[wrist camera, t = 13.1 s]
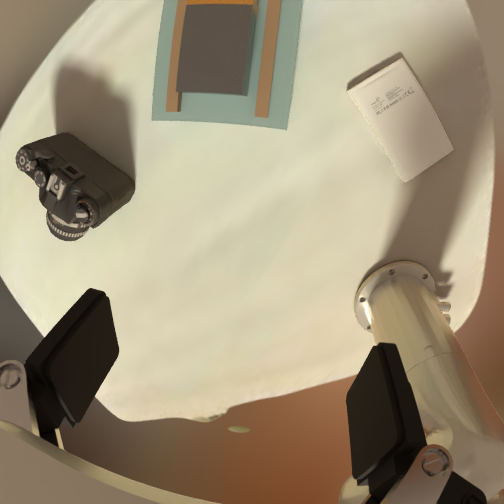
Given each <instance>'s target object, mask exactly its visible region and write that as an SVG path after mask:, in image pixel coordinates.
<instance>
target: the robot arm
mask: <svg viewBox="0 0 504 504" xmlns="http://www.w3.org/2000/svg"><path fill="white" fill-rule="evenodd" d="M450 308H451V304H450V303H449V302H439V300H438V299H437V297H436V296H435V283H434V280H433V278H432V276H431V274H430V273H429V272H428V270H427V269H426V268H425V267H423V266H422V265H420V264H418V263H415V262H410V261H399V262H394V263H390V264H388V265H386V266H383V267H381V268H380V269H378V270H376V271H375V272H374V273H372V274H371V275H370V276H369V277H368V278H367V279H366V280H365V281H364V282H363V283H362V285H361V287H360V288H359V290H358V292H357V295H356V297H355V302H354V311H355V315H356V318H357V320H358V323H359V324H360V325H361V327H362V328H364V329H365V330H366V331H368V332H370V333H372V334H373V336H374V339H375V342H376V345H377V346H373V347H372V349H371V351H370V353H369V355H368V357H367V359H366V360H365V362H364V364H363V366H362V368H361V370H360V372H359V373H358V375H357V377H356V379H355V380H354V382H353V384H352V386H351V387H350V389H349V391H348V393H347V397H346V404H347V413H348V424H349V435H350V446H351V459H352V476H351V477H350V478H348V480H347V481H346V482H345V483H344V485H343V487H342V489H341V492H340V497H339V504H504V489H503V488H504V423H503V422H502V420H501V418H500V417H499V415H498V414H497V412H496V410H495V409H494V407H493V406H492V404H491V402H490V400H489V399H488V397H487V396H486V394H485V392H484V390H483V388H482V386H481V384H480V382H479V380H478V378H477V377H476V375H475V373H474V371H473V369H472V367H471V365H470V363H469V361H468V359H467V357H466V355H465V353H464V351H463V349H462V348H461V346H460V344H459V342H458V340H457V338H456V336H455V335H454V333H453V331H452V329H451V327H450V326H449V324H450V315H449V314H442V312H441V311H449V310H450ZM118 355H119V346H118V341H117V337H116V332H115V327H114V322H113V317H112V311H111V305H110V300H109V298H108V297H107V296H106V293H105V292H103V291H100V290H96V289H93V288H89V289H88V290H87V291H86V292H85V293H84V294H83V295H82V296H81V297H80V298H79V299H78V301H77V302H76V303H75V304H74V305H73V306H72V307H71V308H70V309H69V310H68V312H67V313H66V314H65V315H64V316H63V317H62V318H61V319H60V320H59V322H58V323H57V324H56V325H55V326H54V327H53V328H52V330H51V331H50V332H49V333H48V334H47V335H46V337H45V338H44V339H43V340H42V341H41V343H40V344H39V345H38V346H37V347H36V349H35V350H34V351H33V352H32V354H31V355H30V356H29V357H28V359H27V360H26V363H25V365H24V366H23V365H22V364H21V363H20V362H18V361H15V360H8V361H5V362H2V363H1V364H0V504H220V503H214V502H209V501H205V500H200V499H196V498H191V497H187V496H183V495H179V494H175V493H172V492H168V491H165V490H161V489H158V488H155V487H152V486H148V485H145V484H142V483H139V482H137V481H134V480H131V479H128V478H125V477H123V476H120V475H118V474H115V473H113V472H110V471H108V470H105V469H103V468H101V467H98V466H96V465H94V464H91V463H89V462H87V461H85V460H82V459H81V458H79V457H76V456H75V455H73V454H70V453H68V452H66V451H64V449H63V445H62V441H61V437H60V432H59V426H60V424H61V423H64V424H66V425H68V426H70V427H72V428H73V427H74V425H75V423H79V422H80V421H81V420H82V418H83V416H84V414H85V412H86V411H87V409H88V407H89V405H90V403H91V402H92V400H93V398H94V397H95V395H96V393H97V391H98V390H99V388H100V386H101V384H102V383H103V381H104V379H105V378H106V376H107V374H108V372H109V371H110V369H111V367H112V366H113V364H114V362H115V361H116V359H117V357H118ZM425 433H426V437H425Z"/></svg>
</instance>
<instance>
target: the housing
mask: <svg viewBox="0 0 504 504" xmlns="http://www.w3.org/2000/svg"><path fill="white" fill-rule="evenodd" d="M257 14H258V2H257V0H187V4H186V10H185V16H184V23H183V30H182V38H181V45H180V54H179V62H178V72H177V82H176V92H182V93H198V94H220V95H234V96H246V97H247V96H248V87H249V78H250V70H251V62H252V53H253V45H254V37H255V29H256V22H257Z"/></svg>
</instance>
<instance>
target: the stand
mask: <svg viewBox="0 0 504 504" xmlns="http://www.w3.org/2000/svg"><path fill="white" fill-rule="evenodd" d="M257 2H258V14H257V22H256V29H255V37H254V45H253V53H252V62H251V70H250V78H249V87H248V96H247V97H246V96H234V95H220V94H198V93H182V92H176V82H177V72H178V62H179V54H180V45H181V38H182V30H183V23H184V16H185V10H186V4H187V0H164V5H163V11H162V17H161V24H160V32H159V39H158V47H157V56H156V66H155V77H154V90H153V105H152V121H195V122H213V123H227V124H239V125H250V126H259V127H268V128H276V129H283V130H287V126H288V118H289V110H290V102H291V94H292V86H293V78H294V69H295V61H296V52H297V43H298V34H299V25H300V16H301V7H302V0H257Z"/></svg>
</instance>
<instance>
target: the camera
mask: <svg viewBox="0 0 504 504" xmlns="http://www.w3.org/2000/svg"><path fill="white" fill-rule="evenodd" d="M16 164H17V167H18V168H19V169H20V170H21V171H23V172H25V173H26V174H27V175H28V176H30V177H31V178H32V179H33V180H34V181H35V183H36V185H37V186H38V187H39V200H40V202H41V203H42V205H43V206H44V207H45V208H46V209H47V214H46V218H47V225H48V227H49V230H50V232H51V233H52V234H53V235H54V236H55V237H57V238H59V239H61V240H64V241H75V240H77V239H79V238H81V237H82V236H83V235H84V234H85V233H86V232H87V231H88V230H89V227H92V228H93V229H94V228H96V227H98V226H99V225H100V224H101V223H102V222H104V221H105V220H106V219H107V218H108V217H109V216H111V215H112V214H113V213H114V212H116V211H117V210H118V209H120V208H121V207H122V206H124V205H125V204H127V203H128V202H129V201H130V200H131V198H132V196H133V194H134V192H135V185H134V182H133V180H132V179H131V178H130V177H129V176H127V175H126V174H125V173H123V172H122V171H120V170H119V169H118V168H116V167H115V166H113V165H112V164H111V163H109V162H108V161H107V160H105V159H104V158H103V157H101V156H100V155H99V154H97V153H96V152H94V151H93V150H92V149H90V148H89V147H88V146H86V145H85V144H84V143H82V142H81V141H80V140H78V139H77V138H75V137H74V136H73V135H71V134H69V133H61V134H58V135H54V136H51V137H47V138H44V139H40V140H38V141H35V142H32V143H29V144H27V145H24V146H23V147H21V148H20V150H19V151H18V152H17V155H16Z"/></svg>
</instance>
